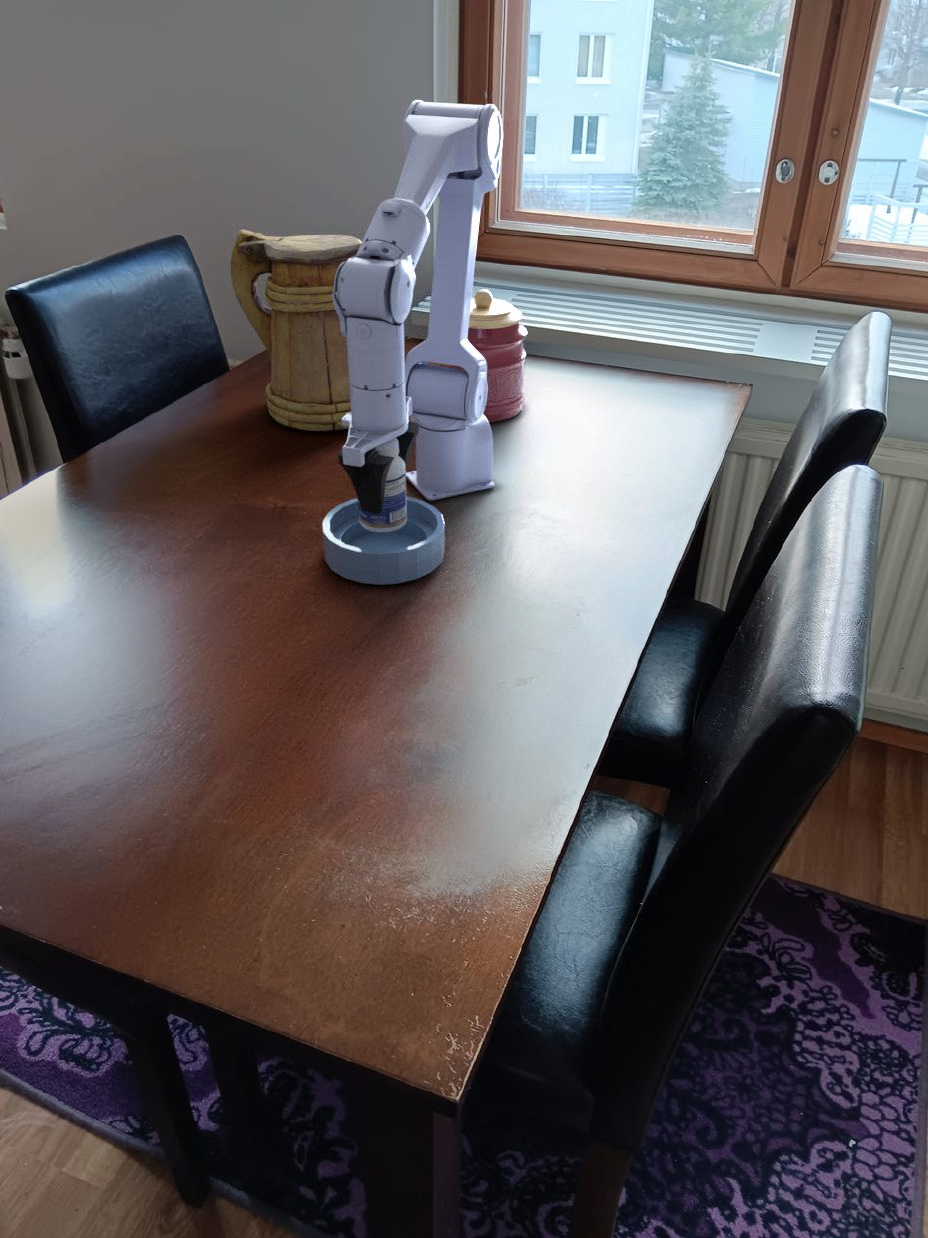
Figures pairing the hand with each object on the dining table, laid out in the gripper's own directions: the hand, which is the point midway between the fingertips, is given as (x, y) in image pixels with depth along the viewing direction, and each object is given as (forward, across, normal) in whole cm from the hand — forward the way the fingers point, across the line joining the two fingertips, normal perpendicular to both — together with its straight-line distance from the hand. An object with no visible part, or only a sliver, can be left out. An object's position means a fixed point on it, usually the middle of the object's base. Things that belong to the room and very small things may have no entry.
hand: (382, 499), depth 107 cm
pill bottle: (+3, 0, 0) cm, 3 cm away
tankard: (+8, -37, -26) cm, 46 cm away
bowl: (+7, 0, 0) cm, 7 cm away
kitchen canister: (+8, -46, -3) cm, 47 cm away
